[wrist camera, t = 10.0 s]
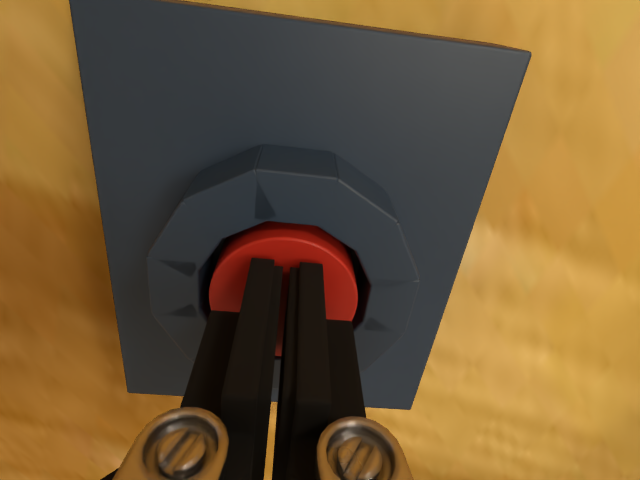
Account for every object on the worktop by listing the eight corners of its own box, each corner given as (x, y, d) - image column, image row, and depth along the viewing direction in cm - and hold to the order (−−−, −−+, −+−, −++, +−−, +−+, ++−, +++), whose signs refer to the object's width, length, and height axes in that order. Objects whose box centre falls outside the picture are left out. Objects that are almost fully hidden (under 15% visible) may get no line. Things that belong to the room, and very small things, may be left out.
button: (221, 197, 11) (207, 230, 9) (361, 211, 11) (370, 245, 9) (220, 309, 12) (209, 352, 11) (341, 318, 13) (345, 361, 11)
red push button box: (109, -10, 10) (10, -16, 7) (495, 43, 11) (580, 61, 8) (148, 347, 16) (104, 441, 13) (399, 365, 17) (423, 458, 14)
